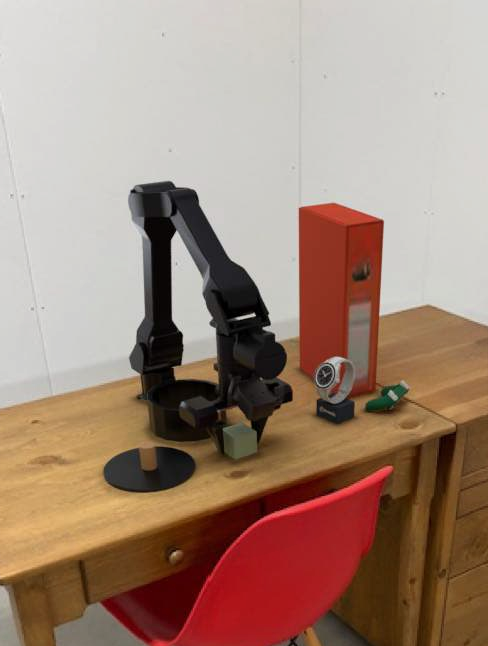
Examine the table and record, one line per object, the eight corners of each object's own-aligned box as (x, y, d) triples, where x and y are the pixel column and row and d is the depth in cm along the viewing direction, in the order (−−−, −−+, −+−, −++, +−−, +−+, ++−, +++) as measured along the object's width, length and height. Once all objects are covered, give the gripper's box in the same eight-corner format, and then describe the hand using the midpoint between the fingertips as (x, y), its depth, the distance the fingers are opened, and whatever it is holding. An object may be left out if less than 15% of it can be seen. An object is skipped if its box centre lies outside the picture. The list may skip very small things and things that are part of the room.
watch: (308, 418, 146) (309, 360, 140) (339, 405, 150) (341, 349, 144) (330, 427, 142) (331, 369, 136) (361, 414, 147) (363, 357, 141)
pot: (135, 430, 142) (131, 396, 139) (188, 405, 151) (186, 373, 147) (189, 451, 135) (186, 416, 131) (242, 424, 144) (240, 391, 140)
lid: (85, 476, 128) (80, 448, 125) (152, 443, 138) (149, 416, 135) (147, 505, 120) (144, 476, 118) (214, 469, 130) (212, 441, 127)
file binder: (339, 399, 153) (345, 224, 135) (298, 369, 165) (298, 206, 148) (375, 391, 155) (385, 219, 138) (332, 363, 168) (336, 202, 151)
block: (235, 462, 132) (234, 438, 129) (221, 452, 135) (220, 428, 132) (257, 455, 134) (256, 431, 131) (243, 445, 137) (242, 422, 134)
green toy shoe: (373, 422, 148) (396, 406, 144) (361, 406, 147) (384, 389, 143) (393, 404, 154) (415, 388, 150) (381, 389, 154) (403, 372, 150)
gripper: (210, 389, 115) (216, 483, 124) (313, 362, 124) (312, 451, 133) (173, 366, 123) (181, 456, 132) (273, 342, 132) (274, 427, 140)
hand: (239, 448), depth 134 cm, fingers open, 7 cm apart
